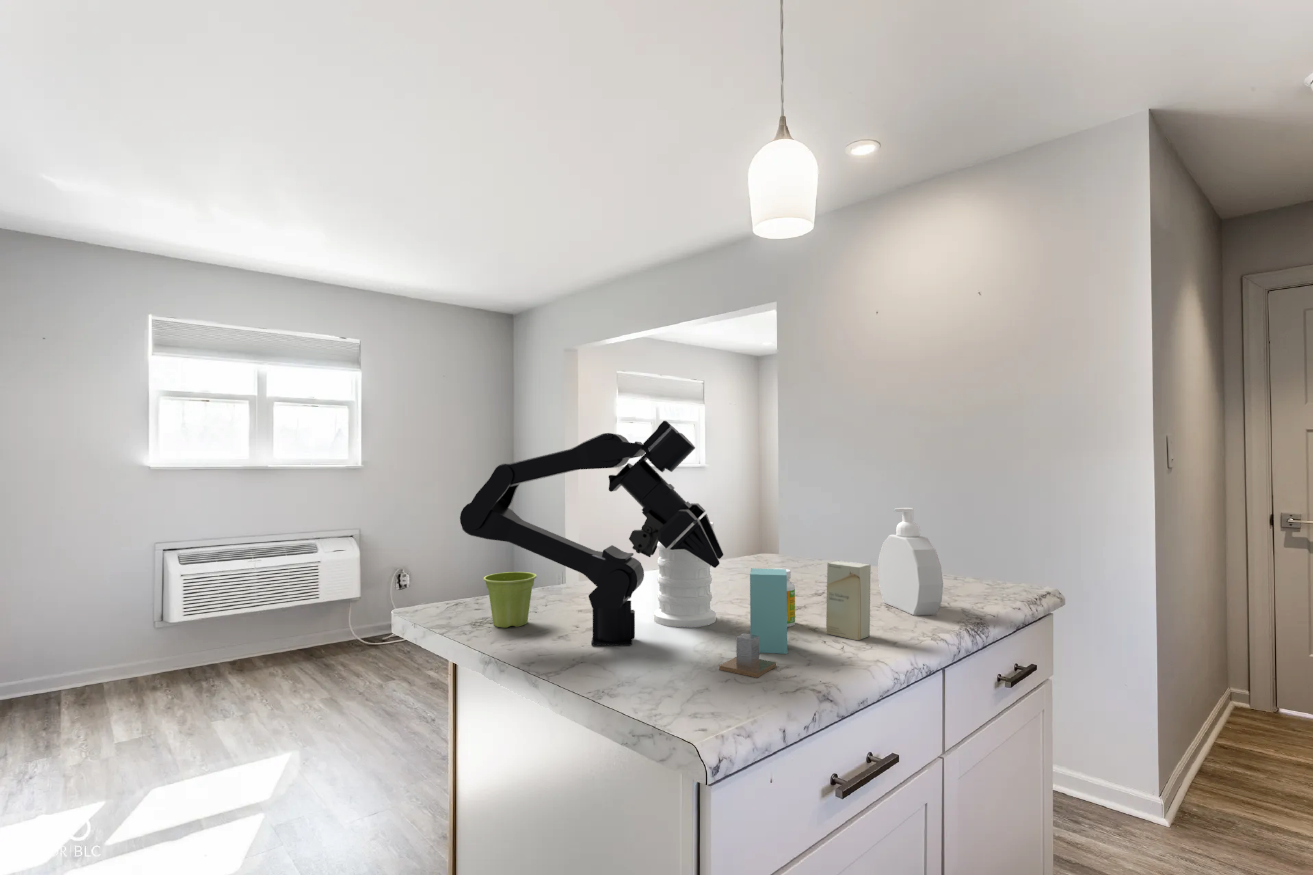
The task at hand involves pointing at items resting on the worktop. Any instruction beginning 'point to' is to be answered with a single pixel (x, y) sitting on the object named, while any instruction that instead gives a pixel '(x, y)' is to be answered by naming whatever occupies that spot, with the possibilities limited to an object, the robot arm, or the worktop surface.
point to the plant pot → (510, 597)
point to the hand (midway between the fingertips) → (719, 561)
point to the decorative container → (683, 589)
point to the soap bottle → (910, 569)
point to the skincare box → (848, 599)
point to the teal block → (769, 609)
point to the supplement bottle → (790, 600)
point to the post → (747, 658)
